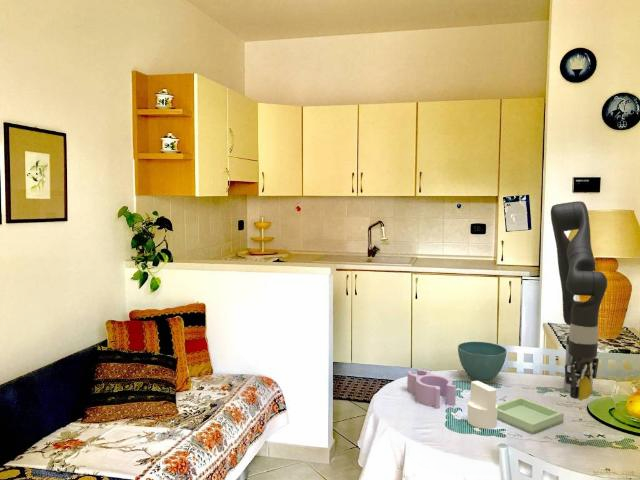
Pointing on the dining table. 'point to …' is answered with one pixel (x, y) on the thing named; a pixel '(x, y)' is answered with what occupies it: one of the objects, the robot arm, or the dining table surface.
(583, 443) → the dining table surface
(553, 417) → the tray
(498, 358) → the teal bowl
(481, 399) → the base with upright slab
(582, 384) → the lemon
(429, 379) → the clip
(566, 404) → the dining table surface
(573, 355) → the robot arm
